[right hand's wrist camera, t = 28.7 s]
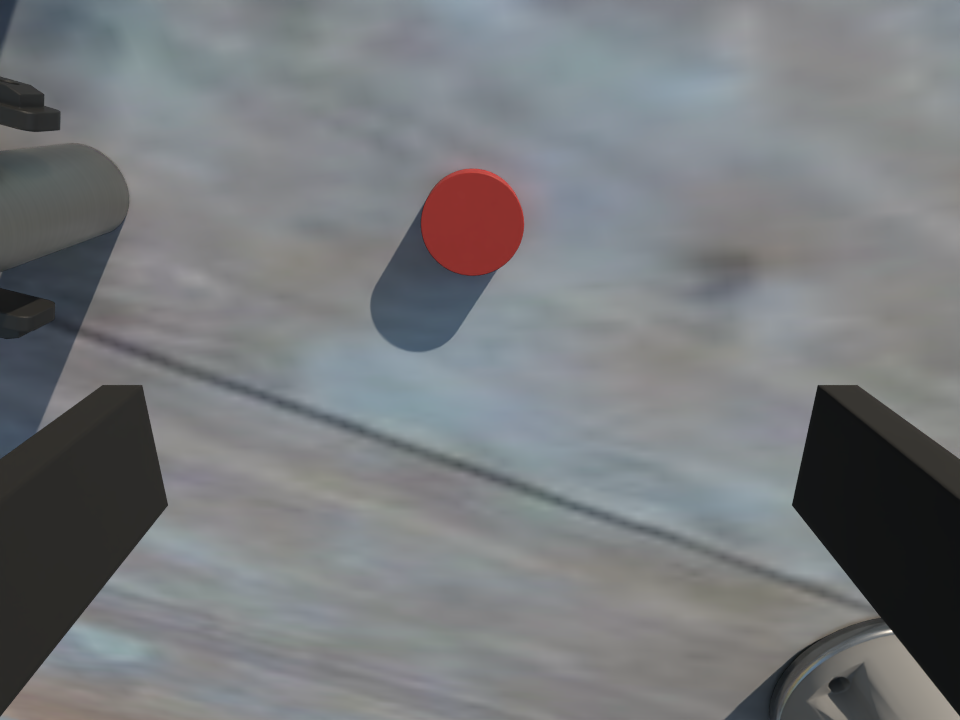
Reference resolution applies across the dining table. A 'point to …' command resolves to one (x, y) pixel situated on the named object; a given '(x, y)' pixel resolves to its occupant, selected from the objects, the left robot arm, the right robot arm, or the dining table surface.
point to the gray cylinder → (56, 200)
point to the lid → (472, 222)
